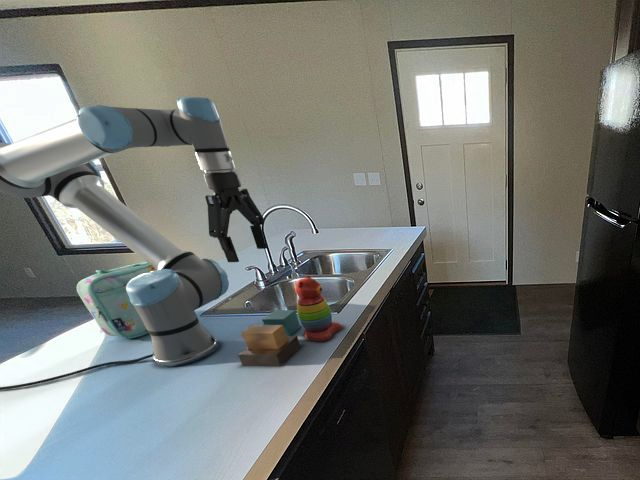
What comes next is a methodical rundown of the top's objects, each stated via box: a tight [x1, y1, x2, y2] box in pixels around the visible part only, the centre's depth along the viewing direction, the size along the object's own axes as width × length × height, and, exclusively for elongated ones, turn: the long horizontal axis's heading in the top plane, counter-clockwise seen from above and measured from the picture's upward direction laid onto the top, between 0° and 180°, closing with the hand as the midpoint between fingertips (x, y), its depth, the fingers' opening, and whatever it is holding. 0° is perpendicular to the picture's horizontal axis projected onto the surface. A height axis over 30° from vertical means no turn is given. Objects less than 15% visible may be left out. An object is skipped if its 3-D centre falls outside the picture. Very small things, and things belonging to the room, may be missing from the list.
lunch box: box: [76, 261, 157, 339], centre depth 123 cm, size 27×10×21 cm, turn 158°
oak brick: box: [241, 324, 288, 349], centre depth 104 cm, size 9×5×5 cm, turn 85°
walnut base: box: [237, 335, 301, 367], centre depth 106 cm, size 11×11×4 cm
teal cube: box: [261, 309, 301, 336], centre depth 119 cm, size 7×7×6 cm
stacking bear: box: [294, 275, 343, 342], centre depth 114 cm, size 11×10×18 cm
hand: (248, 254), depth 107 cm, fingers open, 13 cm apart
